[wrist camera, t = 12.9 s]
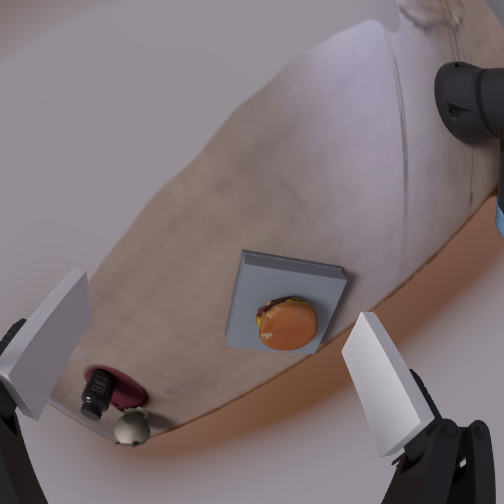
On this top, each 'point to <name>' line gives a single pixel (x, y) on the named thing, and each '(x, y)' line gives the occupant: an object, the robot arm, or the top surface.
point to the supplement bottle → (97, 394)
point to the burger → (286, 323)
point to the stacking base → (280, 295)
